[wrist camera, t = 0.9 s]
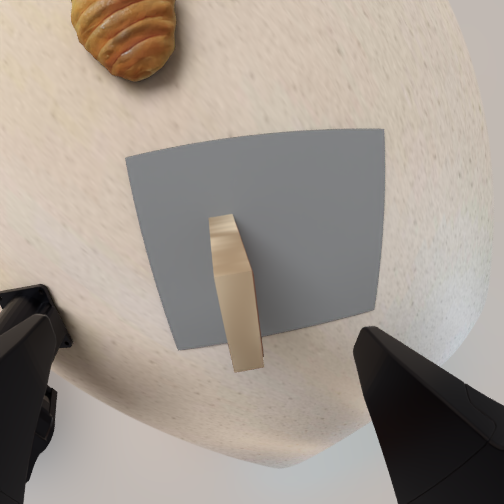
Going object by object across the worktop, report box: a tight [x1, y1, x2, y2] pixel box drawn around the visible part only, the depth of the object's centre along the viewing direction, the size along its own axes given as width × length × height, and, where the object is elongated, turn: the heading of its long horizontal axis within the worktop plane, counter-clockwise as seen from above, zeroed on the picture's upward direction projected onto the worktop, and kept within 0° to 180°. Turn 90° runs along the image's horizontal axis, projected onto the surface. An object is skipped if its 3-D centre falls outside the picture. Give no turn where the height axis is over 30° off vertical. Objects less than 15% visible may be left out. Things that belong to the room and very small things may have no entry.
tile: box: [209, 214, 264, 372], centre depth 17 cm, size 2×6×8 cm, turn 6°
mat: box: [125, 129, 385, 350], centre depth 21 cm, size 18×16×1 cm
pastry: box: [71, 0, 176, 82], centre depth 12 cm, size 9×7×4 cm
